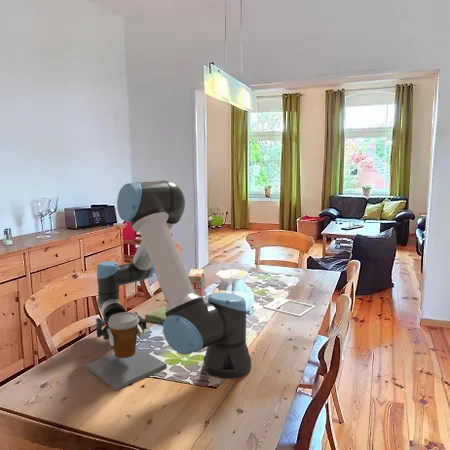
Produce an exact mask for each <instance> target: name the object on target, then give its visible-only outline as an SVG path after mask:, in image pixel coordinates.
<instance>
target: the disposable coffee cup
mask: <svg viewBox="0 0 450 450" xmlns="http://www.w3.org/2000/svg"><path fill="white" fill-rule="evenodd" d="M137 314H138V313H137ZM137 314H135V313H134V312H129V311H126V312H122V313H117V314H114V315H112V316H111V317H110V318H109V321H108V325H109V327H110V331H111V333H112V335H113V341H114V346H112V348H113V354H115V356H116V357H118V358H128V357H131V356H133V355H134V354H135V349H136V347H137V337H138V335H137V328H138V323H139V318H138V316H137Z"/></svg>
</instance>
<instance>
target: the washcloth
mask: <svg viewBox="0 0 450 450" xmlns="http://www.w3.org/2000/svg"><path fill="white" fill-rule="evenodd" d="M166 309H167V306H162V307H159V308H157V309H153V310H152V311H151V312H149V313H146V314H144V318H145V319H146V322H147V321H148V322H153V323H158V324H162V325H163V322H164V320H165V319H166V318H167V317H166V314H165V311H166Z"/></svg>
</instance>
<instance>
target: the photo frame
mask: <svg viewBox="0 0 450 450" xmlns="http://www.w3.org/2000/svg"><path fill="white" fill-rule="evenodd" d="M289 302H290V303H294V304H298V305H301V306H302V305H303V306H307V307H309V308H308V309H307V310H305V311H303V312H301V313H300V314H297V313H294V312H289V311H285V310H281V309H279V308H281V307H283V306H284V305H286V304H288V303H289ZM262 308H263V309H268V310H271V311H274V312H275V311H276V312H278V313H283V314H287V315H291V316H295V317H299V318H300V317H303V316H304V315H305V314H307V313H309V312H310V311H312V310H314V309H315V308H316V305H314V304H313V305H312V304H308V303H305V302H300V301H297V300H296V301H295V300H291V299H286V298H282V297H279V298H277V299H275V300H273V301H271V302H269V303H268V304H265V305H264V306H262Z"/></svg>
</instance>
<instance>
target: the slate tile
mask: <svg viewBox="0 0 450 450" xmlns="http://www.w3.org/2000/svg"><path fill="white" fill-rule="evenodd" d="M167 366H168V365H167V363H166V362H164V361H163V360H161V359H159V358H157V357H156V356H154V355H151V354H150V353H149V352H147V351H145V350H144V349H142V348H140V347H138V346H136V349H135V354H134V355H133V356H131V357H128V358H118V357H116V356H115V354H114V353H112V354H109V355H107V356H104V357H102V358H99V359H97V360H94V361H92V362H91V361H90V362H89V363H86V364H85V369H86V370H88V371H89V372H91V373H92V374H93V375H94V376H96V377H97V378H98V379H100V380H101V381H103V382H104V383H105V384H106V383H107V384H106V385H108V387H110V388H111V389H113V390H115V391H118V390H120V389H123V388H124V387H126V386H128V385H131V384H133V383H135V382H137V381H139V380H142V379H144V378H146V377H149V376H151V375H153V374H155V372H156V373H158V372H159V371H162V370H164V368H165V369H167V368H168V367H167ZM166 367H167V368H166ZM157 371H158V372H157ZM152 373H153V374H152ZM150 374H151V375H150ZM148 375H149V376H148Z"/></svg>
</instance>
